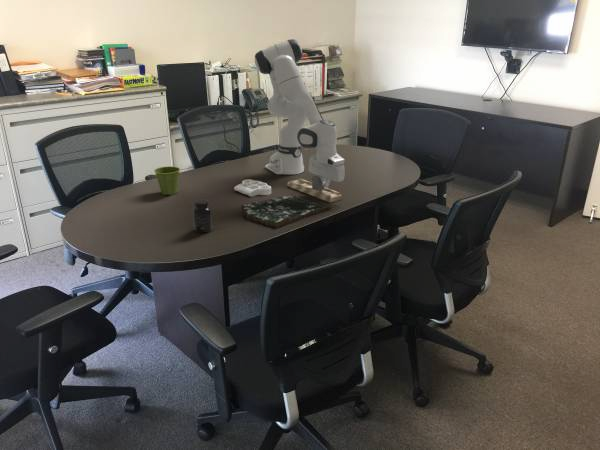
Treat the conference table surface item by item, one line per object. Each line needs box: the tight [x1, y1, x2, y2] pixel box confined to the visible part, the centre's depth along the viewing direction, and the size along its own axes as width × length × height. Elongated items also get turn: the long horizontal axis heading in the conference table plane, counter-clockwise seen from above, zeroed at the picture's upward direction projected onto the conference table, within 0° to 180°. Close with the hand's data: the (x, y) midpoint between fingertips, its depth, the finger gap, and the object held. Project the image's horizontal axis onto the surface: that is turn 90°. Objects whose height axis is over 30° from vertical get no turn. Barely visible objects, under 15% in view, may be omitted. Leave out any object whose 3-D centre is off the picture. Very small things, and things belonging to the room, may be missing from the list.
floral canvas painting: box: [241, 193, 328, 229], centre depth 218 cm, size 26×33×3 cm
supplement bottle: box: [192, 199, 213, 234], centre depth 196 cm, size 7×7×12 cm
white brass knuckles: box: [233, 178, 272, 198], centre depth 242 cm, size 3×18×15 cm
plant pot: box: [153, 166, 181, 196], centre depth 236 cm, size 12×12×11 cm
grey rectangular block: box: [311, 175, 325, 191], centre depth 236 cm, size 4×4×6 cm
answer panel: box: [287, 177, 343, 203], centre depth 240 cm, size 30×7×3 cm, turn 41°
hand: (325, 186), depth 233 cm, fingers closed
